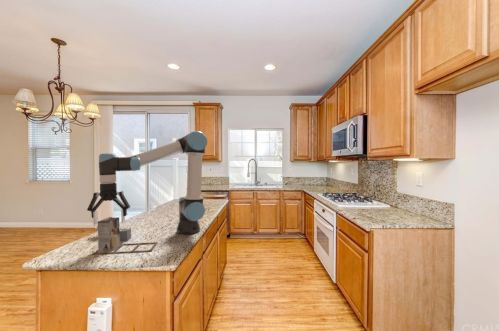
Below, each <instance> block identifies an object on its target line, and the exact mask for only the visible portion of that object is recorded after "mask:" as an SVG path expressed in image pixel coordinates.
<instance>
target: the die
mask: <svg viewBox="0 0 499 331" xmlns="http://www.w3.org/2000/svg"><path fill="white" fill-rule="evenodd" d="M119 229H120V243H121V242H128V241H129V240H131V238H132V228H131V227H128V228H119Z"/></svg>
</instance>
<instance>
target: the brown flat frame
mask: <svg viewBox="0 0 499 331" xmlns="http://www.w3.org/2000/svg"><path fill="white" fill-rule="evenodd" d="M141 245H152V246H151V247H150V249H144V250H142V249H141V250H136V249H138V248H139V247H140V246H141ZM157 245H158V241H155V242H154V241H152V242H135V243H120V246H119V247H118V248H116V249H115V250H113V251H112V252H105V253H98V249H97V250H96V251H94V252H93V253H92V256H96V255H114V254H132V253H150V252H152V251H153V250H154V249H155V247H156V246H157ZM123 246H135V247H134V248H133V249H132V250H125V251H119V250H120V249H121V248H122V247H123Z"/></svg>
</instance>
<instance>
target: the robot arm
mask: <svg viewBox="0 0 499 331" xmlns="http://www.w3.org/2000/svg"><path fill="white" fill-rule="evenodd" d="M207 145H208V137H207V136H206V134H204V132H201V131H199V130H193V131H191V132H190V133H187V134H186V135H185V136H183V137H180V138H178V139H176V140H175V141H173V142H171V143H167V144H165V145H162V146H159V147H155V148H153V149H149V150H147V151H143V152H141V153H140V152H139V153H138V154H135V155H131V156H127V157H126V156H122V157H121V156H120V157H119V156H116V154H115V153H100V154H99V156H98V174H99V183H100V184H99V192H94V193H93V194H92V195H93V196H92V199H91V201H90V202H89V205H88V207H87V209H86V212H87V211H89V212H91V218H92V219H93V225H98V221H99V220H98V219H99V217H98V215H99V213H98V210H97V209H98V208H100V206H101V205H102V204H103V203H104V202H107V201H108V202H110V201H111V202H112V201H113V202H114V203H115V204H116V205H117V206H118V207H119V208H121V210H120V212H121V224H124V223H126V216H127V215H128V212H127V210H128V209H130V208H131V205H130V203H129V201H128V200H127V198H126V196H125V195H124V191H123V190H121V191H117V190H118V189H117V187H118V186H117V183H116V182H117V172H130V171H131V172H132V171H133V172H135V171H141V167H143V166H147V165H148V164H152V163H155V162H157V161H160V160H163V159H166V158H168V157H172V156H175V155H177V154H186V156H187V176H186V177H187V178H186V183H187V184H186V195H185V196H181V197H179V199H178V215H179V216H178V217H179V220H178V223H177V226H176V233H177V234H178V235H191V234H193V235H194V234H196V233H199V232H201V226H200V222H199V221H200V220H201V219H202V218H203V217H204V216H205V213H206V208H205V205H204V197H203V196H202V176H203V175H202V174H203V157H204V155H205V154H206V147H207ZM118 196H119V198H120V199H119V198H118ZM98 197H100V199H99V200H98ZM97 200H98V201H97Z"/></svg>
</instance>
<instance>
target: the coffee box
mask: <svg viewBox="0 0 499 331" xmlns="http://www.w3.org/2000/svg"><path fill="white" fill-rule="evenodd" d="M97 226H98V230H97V246H98V248H97V250H98V253H105V252H113V251H114V250H116V249H117V248H118V247H119V246H120V244H121V242H120V229H121V228H120V217H112V218H109V217H106V218H104V219H102V220H98V223H97Z"/></svg>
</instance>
